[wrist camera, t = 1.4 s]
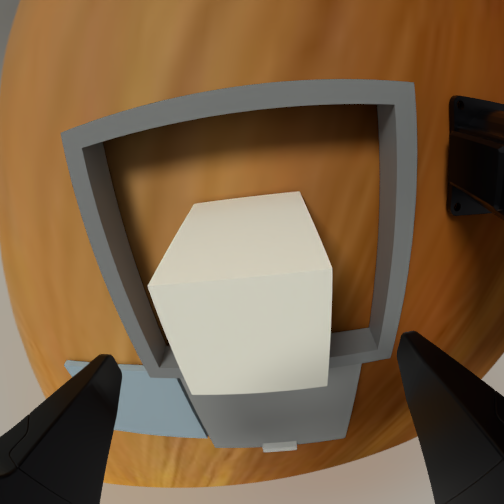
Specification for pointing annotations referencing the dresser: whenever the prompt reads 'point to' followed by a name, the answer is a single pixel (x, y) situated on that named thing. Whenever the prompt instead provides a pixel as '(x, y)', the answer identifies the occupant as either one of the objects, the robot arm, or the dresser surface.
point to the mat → (152, 404)
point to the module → (247, 297)
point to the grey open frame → (341, 343)
